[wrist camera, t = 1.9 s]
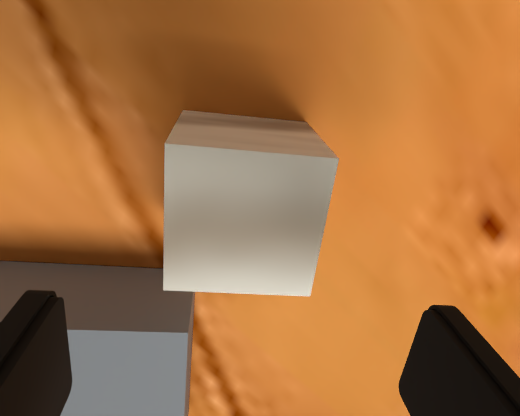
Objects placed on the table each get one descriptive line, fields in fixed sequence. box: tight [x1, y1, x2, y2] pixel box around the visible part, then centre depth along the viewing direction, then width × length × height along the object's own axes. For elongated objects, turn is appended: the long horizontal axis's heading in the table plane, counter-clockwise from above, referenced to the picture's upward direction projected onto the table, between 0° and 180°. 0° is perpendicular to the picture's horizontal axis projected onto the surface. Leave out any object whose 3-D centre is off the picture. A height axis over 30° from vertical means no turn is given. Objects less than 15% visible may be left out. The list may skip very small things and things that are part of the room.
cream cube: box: [163, 110, 339, 296], centre depth 17 cm, size 6×6×6 cm
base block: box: [0, 261, 195, 416], centre depth 21 cm, size 12×12×5 cm
